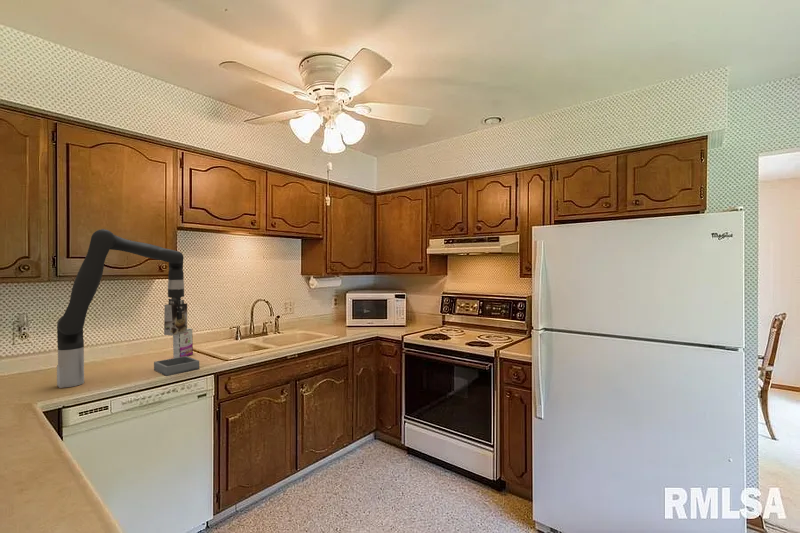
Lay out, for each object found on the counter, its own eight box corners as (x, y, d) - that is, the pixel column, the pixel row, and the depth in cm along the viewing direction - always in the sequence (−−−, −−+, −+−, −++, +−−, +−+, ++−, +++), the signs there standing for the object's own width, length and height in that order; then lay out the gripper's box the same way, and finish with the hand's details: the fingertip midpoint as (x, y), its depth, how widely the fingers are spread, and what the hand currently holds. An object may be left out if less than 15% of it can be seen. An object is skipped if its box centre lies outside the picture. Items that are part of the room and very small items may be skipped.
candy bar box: (186, 354, 235) (185, 328, 235) (193, 354, 234) (193, 328, 234) (172, 358, 224) (172, 331, 224) (180, 359, 223) (179, 331, 223)
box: (166, 376, 189) (166, 367, 189) (153, 370, 200) (153, 361, 200) (199, 369, 202) (199, 360, 201) (186, 363, 212) (186, 355, 212)
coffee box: (173, 335, 195) (173, 304, 195) (163, 335, 197) (163, 304, 197) (187, 332, 204) (187, 303, 204) (178, 332, 206) (178, 302, 206)
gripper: (163, 288, 202) (163, 318, 202) (173, 289, 193) (173, 320, 193) (178, 287, 208) (178, 316, 208) (189, 288, 199) (189, 319, 199)
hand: (176, 318), depth 200 cm, fingers closed on coffee box, 8 cm apart
